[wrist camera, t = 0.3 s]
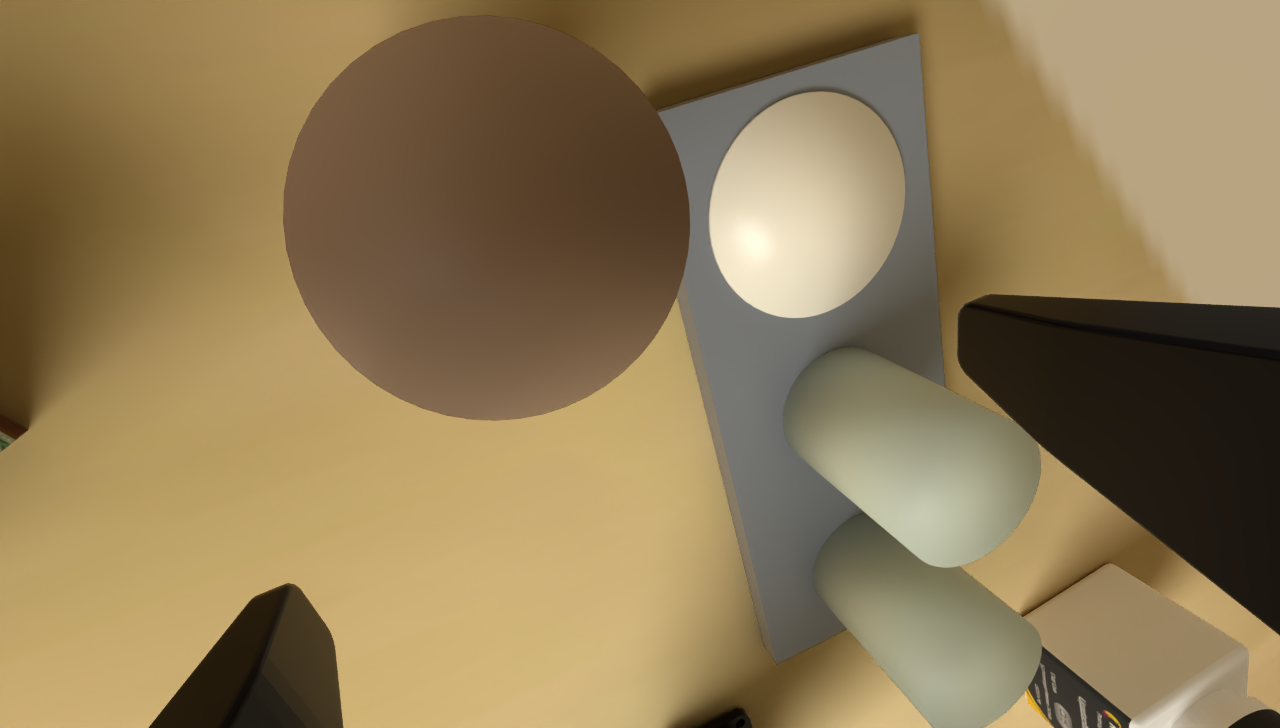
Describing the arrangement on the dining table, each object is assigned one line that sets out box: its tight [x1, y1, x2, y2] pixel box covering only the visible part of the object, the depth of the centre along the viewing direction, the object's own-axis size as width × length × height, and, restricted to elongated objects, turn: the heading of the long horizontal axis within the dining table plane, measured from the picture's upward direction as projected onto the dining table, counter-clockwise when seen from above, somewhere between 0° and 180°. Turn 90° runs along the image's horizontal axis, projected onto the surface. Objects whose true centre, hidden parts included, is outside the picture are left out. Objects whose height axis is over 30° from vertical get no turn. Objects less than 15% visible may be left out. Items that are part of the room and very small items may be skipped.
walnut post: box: [283, 16, 690, 421], centre depth 14 cm, size 5×5×13 cm
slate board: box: [656, 33, 945, 664], centre depth 26 cm, size 24×10×1 cm, turn 16°
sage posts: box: [783, 347, 1042, 728], centre depth 25 cm, size 13×5×7 cm, turn 16°
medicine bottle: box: [1023, 563, 1280, 728], centre depth 33 cm, size 7×7×12 cm
